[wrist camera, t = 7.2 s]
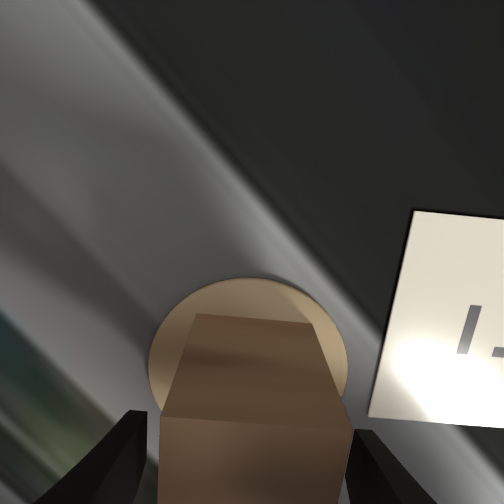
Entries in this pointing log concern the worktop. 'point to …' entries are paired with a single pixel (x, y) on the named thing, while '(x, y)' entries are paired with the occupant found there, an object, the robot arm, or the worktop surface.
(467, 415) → the tile
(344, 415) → the walnut block
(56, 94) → the worktop surface
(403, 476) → the robot arm
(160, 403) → the cork coaster
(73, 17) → the worktop surface
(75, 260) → the worktop surface
